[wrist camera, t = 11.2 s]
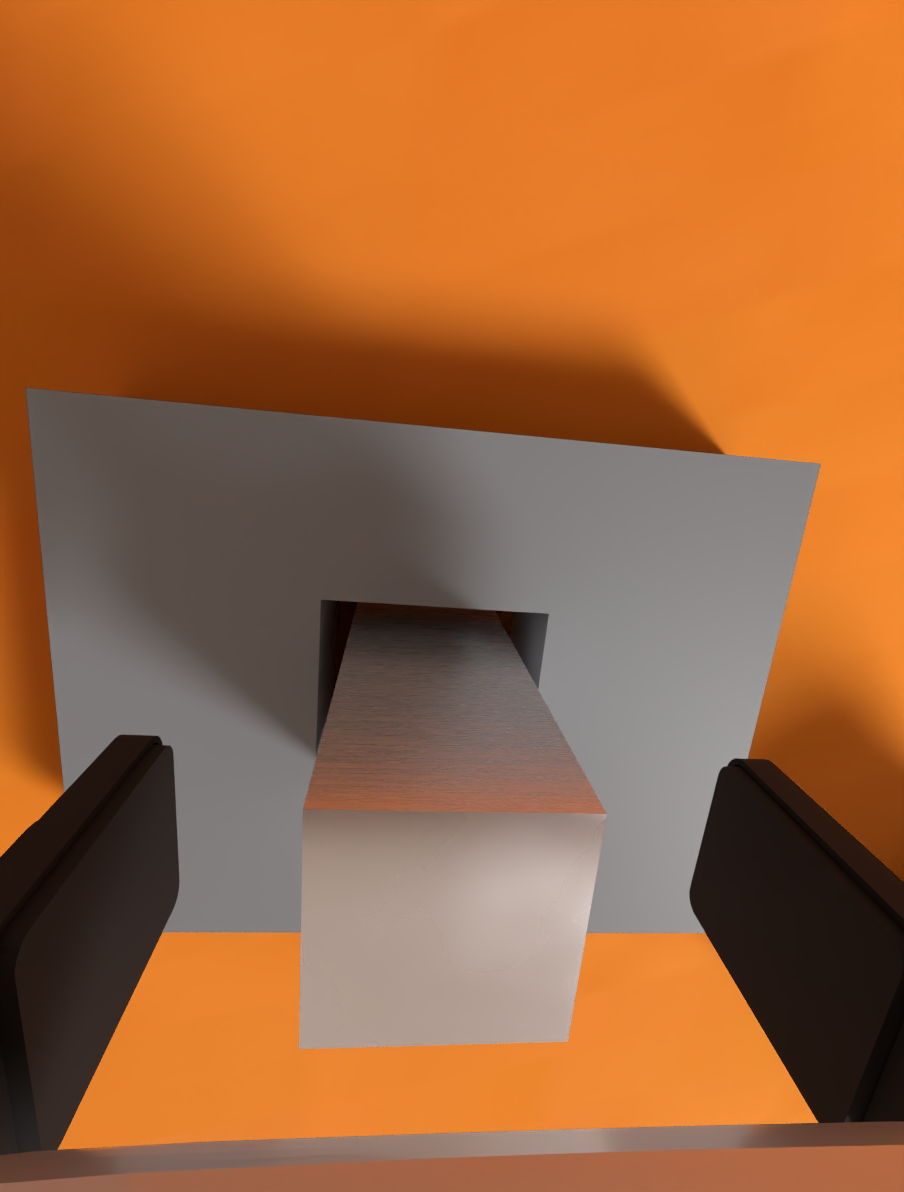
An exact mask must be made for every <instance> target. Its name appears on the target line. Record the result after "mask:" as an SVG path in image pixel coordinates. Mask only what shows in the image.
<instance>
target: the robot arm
mask: <svg viewBox="0 0 904 1192" xmlns="http://www.w3.org/2000/svg"><path fill="white" fill-rule="evenodd" d="M179 882H180V879H179V858H178V838H177V817H176V796H175V776H174V755H173V749H172V747H171V746H170V745H163V744H162V741H161V738H160V737H159V736H150V735H125V734H123V735H119V736H117V737H116V738H115V739H114V740H113V741H112V742H111V743H110V744H109V745H108V746H107V747H106V748H105V750H104V751H103V752H102V753H101V754H100V755H99V756H98V757H97V758H96V759H95V760H94V761H93V762H92V763H91V765H90V766H89V767H88V768H87V769H86V770H85V771H84V772H83V773H82V774H81V775H80V776H79V777H78V778H77V780H76V781H75V782H74V783H73V784H72V785H71V786H70V787H69V788H68V789H67V790H66V791H65V792H64V793H63V795H62V796H61V797H60V798H59V799H58V800H57V801H56V802H55V803H54V804H53V805H52V806H51V807H50V808H49V810H48V811H47V812H46V813H45V814H44V815H43V816H42V817H41V818H40V819H39V820H38V821H36V822H35V823H34V824H32V825H31V826H30V827H29V828H28V829H27V830H26V831H25V832H24V833H23V834H22V835H21V836H20V837H19V838H18V839H17V840H16V841H15V842H14V843H13V845H12V846H11V847H10V848H9V849H8V850H7V851H6V852H5V853H4V854H3V855H2V856H1V857H0V1192H904V882H903V881H901V880H900V879H899V878H898V877H897V876H896V875H895V874H894V873H893V872H892V871H891V870H889V869H888V868H887V867H886V866H885V865H884V864H883V863H882V862H881V861H880V860H878V859H877V858H876V857H875V856H874V855H873V854H872V853H871V852H870V851H869V850H867V849H866V848H865V847H864V846H863V845H862V844H861V843H860V842H859V841H858V840H857V839H855V838H854V837H853V836H852V835H851V834H850V833H849V832H848V831H847V830H846V829H844V828H843V827H842V826H841V825H840V824H839V823H838V822H837V821H836V820H835V819H834V818H832V817H831V816H830V815H829V814H828V813H827V812H826V811H825V810H824V809H823V808H821V807H820V806H819V805H818V804H817V803H816V802H815V801H814V800H813V799H812V798H810V797H809V796H808V795H807V794H806V793H805V792H804V791H803V790H802V789H801V788H800V787H798V786H797V785H796V784H795V783H794V782H793V781H792V780H791V779H790V778H789V777H787V776H786V775H785V774H784V773H783V772H782V771H781V770H780V769H779V768H778V767H777V766H775V765H774V764H773V763H772V762H770V761H769V760H764V759H739V758H735V759H733V760H731V761H730V762H729V763H728V765H727V766H725V767H722V769H721V770H720V772H719V774H718V778H717V782H716V786H715V790H714V794H713V798H712V802H711V806H710V810H709V814H708V818H707V822H706V826H705V830H704V834H703V838H702V842H701V846H700V850H699V854H698V858H697V862H696V866H695V870H694V874H693V878H692V882H691V886H690V891H689V897H690V904H691V907H692V910H693V912H694V914H695V916H696V918H697V919H698V921H699V923H700V924H701V926H702V928H703V929H704V931H705V933H706V934H707V936H708V938H709V939H710V941H711V943H712V945H713V946H714V948H715V950H716V951H717V953H718V955H719V956H720V958H721V960H722V961H723V963H724V965H725V966H726V968H727V970H728V971H729V973H730V975H731V976H732V978H733V980H734V981H735V983H736V985H737V987H738V988H739V990H740V992H741V993H742V995H743V997H744V998H745V1000H746V1002H747V1003H748V1005H749V1007H750V1008H751V1010H752V1012H753V1013H754V1015H755V1017H756V1018H757V1020H758V1022H759V1024H760V1025H761V1027H762V1029H763V1030H764V1032H765V1034H766V1035H767V1037H768V1039H769V1040H770V1042H771V1044H772V1045H773V1047H774V1049H775V1050H776V1052H777V1054H778V1055H779V1057H780V1059H781V1061H782V1062H783V1064H784V1066H785V1067H786V1069H787V1071H788V1072H789V1074H790V1076H791V1077H792V1079H793V1081H794V1082H795V1084H796V1086H797V1087H798V1089H799V1091H800V1092H801V1094H802V1096H803V1097H804V1099H805V1101H806V1103H807V1104H808V1106H809V1108H810V1109H811V1111H812V1113H813V1114H814V1116H815V1118H816V1119H817V1121H818V1122H819V1123H802V1124H758V1125H713V1126H674V1127H638V1128H603V1129H568V1130H535V1131H502V1132H470V1133H437V1134H409V1135H381V1136H353V1137H325V1138H298V1139H270V1140H242V1141H215V1142H192V1143H174V1144H156V1145H138V1146H120V1147H102V1148H84V1149H67V1150H57V1149H58V1147H59V1145H60V1144H61V1142H62V1140H63V1138H64V1136H65V1133H66V1131H67V1129H68V1127H69V1125H70V1123H71V1121H72V1119H73V1117H74V1115H75V1113H76V1111H77V1109H78V1106H79V1104H80V1102H81V1100H82V1098H83V1096H84V1094H85V1092H86V1090H87V1088H88V1086H89V1084H90V1081H91V1079H92V1077H93V1075H94V1073H95V1071H96V1069H97V1067H98V1065H99V1063H100V1061H101V1059H102V1057H103V1054H104V1052H105V1050H106V1048H107V1046H108V1044H109V1042H110V1040H111V1038H112V1036H113V1034H114V1032H115V1030H116V1027H117V1025H118V1023H119V1021H120V1019H121V1017H122V1015H123V1013H124V1011H125V1009H126V1007H127V1005H128V1002H129V1000H130V998H131V996H132V994H133V992H134V990H135V988H136V986H137V984H138V982H139V980H140V978H141V975H142V973H143V971H144V969H145V967H146V965H147V963H148V961H149V959H150V957H151V955H152V953H153V950H154V948H155V946H156V944H157V942H158V940H159V938H160V936H161V934H162V932H163V930H164V928H165V926H166V923H167V921H168V919H169V917H170V915H171V913H172V911H173V909H174V906H175V904H176V901H177V897H178V892H179Z"/></svg>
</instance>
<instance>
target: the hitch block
mask: <svg viewBox="0 0 904 1192" xmlns="http://www.w3.org/2000/svg"><path fill="white" fill-rule="evenodd" d="M26 398H27V409H28V419H29V430H30V440H31V451H32V461H33V471H34V482H35V492H36V503H37V513H38V524H39V534H40V545H41V555H42V566H43V576H44V587H45V597H46V608H47V618H48V629H49V639H50V650H51V660H52V671H53V681H54V692H55V702H56V713H57V723H58V734H59V744H60V754H61V765H62V775H63V786H64V792H65V791H66V790H67V789H68V788H69V787H70V786H71V785H72V784H73V783H74V782H75V781H76V780H77V778H78V777H79V776H80V775H81V774H82V773H83V772H84V771H85V770H86V769H87V768H88V767H89V766H90V765H91V763H92V762H93V761H94V760H95V759H96V758H97V757H98V756H99V755H100V754H101V753H102V752H103V751H104V750H105V748H106V747H107V746H108V745H109V744H110V743H111V742H112V741H113V740H114V739H115V738H116V737H117V736H119V735H123V734H125V735H150V736H159V737H160V738H161V741H162V744H163V745H170V746H171V747H172V749H173V755H174V776H175V796H176V817H177V838H178V858H179V879H180V882H179V892H178V897H177V901H176V904H175V906H174V909H173V911H172V913H171V915H170V917H169V919H168V921H167V923H166V926H165V928H164V930H163V932H301V898H302V830H303V807H304V803H305V799H306V795H307V792H308V788H309V784H310V780H311V776H312V773H313V769H314V765H315V761H316V757H317V754H318V750H319V746H320V742H321V739H322V735H323V731H324V727H325V723H326V720H327V716H328V712H329V708H330V704H331V701H332V697H333V687H334V662H335V637H336V611H337V601H352V602H368V603H384V604H400V605H416V606H432V607H448V608H465V609H481V610H497V611H513V617H512V626H511V634H510V639H511V641H512V643H513V645H514V646H515V648H516V650H517V652H518V654H519V656H520V657H521V659H522V661H523V663H524V665H525V666H526V668H527V670H528V672H529V674H530V675H531V677H532V679H533V681H534V683H535V685H536V686H537V688H538V690H539V692H540V694H541V695H542V697H543V699H544V701H545V703H546V704H547V706H548V708H549V710H550V712H551V714H552V715H553V717H554V719H555V721H556V723H557V724H558V726H559V728H560V730H561V732H562V733H563V735H564V737H565V739H566V741H567V743H568V744H569V746H570V748H571V750H572V752H573V753H574V755H575V757H576V759H577V761H578V762H579V764H580V766H581V768H582V770H583V772H584V773H585V775H586V777H587V779H588V781H589V782H590V784H591V786H592V788H593V790H594V791H595V793H596V795H597V797H598V799H599V801H600V802H601V804H602V806H603V808H604V810H605V811H606V813H607V816H606V822H605V828H604V833H603V839H602V845H601V851H600V857H599V863H598V868H597V874H596V880H595V886H594V892H593V897H592V903H591V909H590V915H589V921H588V926H587V932H586V933H705V931H704V929H703V928H702V926H701V924H700V923H699V921H698V919H697V918H696V916H695V914H694V912H693V910H692V907H691V904H690V897H689V891H690V886H691V882H692V878H693V874H694V870H695V866H696V862H697V858H698V854H699V850H700V846H701V842H702V838H703V834H704V830H705V826H706V822H707V818H708V814H709V810H710V806H711V802H712V798H713V794H714V790H715V786H716V782H717V778H718V774H719V772H720V770H721V769H722V767H725V766H727V765H728V763H729V762H730V761H731V760H733V759H735V758H739V759H748V755H749V751H750V747H751V743H752V739H753V735H754V731H755V727H756V723H757V719H758V715H759V711H760V707H761V703H762V699H763V695H764V691H765V687H766V683H767V679H768V675H769V671H770V667H771V663H772V659H773V655H774V651H775V647H776V643H777V639H778V635H779V631H780V626H781V622H782V618H783V614H784V610H785V606H786V602H787V598H788V594H789V590H790V586H791V582H792V578H793V574H794V570H795V566H796V562H797V558H798V554H799V550H800V546H801V542H802V538H803V534H804V530H805V526H806V522H807V518H808V514H809V510H810V506H811V502H812V498H813V494H814V490H815V486H816V481H817V477H818V473H819V469H820V465H821V464H817V463H807V462H796V461H786V460H776V459H765V458H755V457H744V456H734V455H723V454H713V453H702V452H692V451H682V450H671V449H661V448H650V447H640V446H629V445H619V444H608V443H598V442H588V441H577V440H567V439H556V438H546V437H535V436H525V435H514V434H504V433H494V432H483V431H473V430H462V429H452V428H441V427H431V426H420V425H410V424H400V423H389V422H379V421H368V420H358V419H347V418H337V417H326V416H316V415H306V414H295V413H285V412H274V411H264V410H253V409H243V408H232V407H222V406H212V405H201V404H191V403H180V402H170V401H159V400H149V399H138V398H128V397H118V396H107V395H97V394H86V393H76V392H65V391H55V390H45V389H34V388H26Z"/></svg>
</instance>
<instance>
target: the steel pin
mask: <svg viewBox="0 0 904 1192" xmlns="http://www.w3.org/2000/svg"><path fill="white" fill-rule="evenodd" d="M606 816H607V813H606V811H605V810H604V808H603V806H602V804H601V802H600V801H599V799H598V797H597V795H596V793H595V791H594V790H593V788H592V786H591V784H590V782H589V781H588V779H587V777H586V775H585V773H584V772H583V770H582V768H581V766H580V764H579V762H578V761H577V759H576V757H575V755H574V753H573V752H572V750H571V748H570V746H569V744H568V743H567V741H566V739H565V737H564V735H563V733H562V732H561V730H560V728H559V726H558V724H557V723H556V721H555V719H554V717H553V715H552V714H551V712H550V710H549V708H548V706H547V704H546V703H545V701H544V699H543V697H542V695H541V694H540V692H539V690H538V688H537V686H536V685H535V683H534V681H533V679H532V677H531V675H530V674H529V672H528V670H527V668H526V666H525V665H524V663H523V661H522V659H521V657H520V656H519V654H518V652H517V650H516V648H515V646H514V645H513V643H512V641H511V639H510V637H509V636H508V634H507V632H506V630H505V628H504V627H503V625H502V623H501V621H500V619H499V617H498V616H497V614H496V612H495V610H481V609H465V608H448V607H432V606H416V605H400V604H384V603H368V602H357V606H356V610H355V614H354V617H353V621H352V625H351V629H350V632H349V636H348V640H347V644H346V648H345V651H344V655H343V659H342V663H341V667H340V670H339V674H338V678H337V682H336V685H335V689H334V693H333V697H332V701H331V704H330V708H329V712H328V716H327V720H326V723H325V727H324V731H323V735H322V739H321V742H320V746H319V750H318V754H317V757H316V761H315V765H314V769H313V773H312V776H311V780H310V784H309V788H308V792H307V795H306V799H305V803H304V807H303V830H302V898H301V965H300V1032H299V1049H317V1048H353V1047H389V1046H425V1045H461V1044H497V1043H533V1042H568V1037H569V1031H570V1025H571V1019H572V1014H573V1008H574V1002H575V996H576V990H577V984H578V979H579V973H580V967H581V961H582V955H583V950H584V944H585V938H586V932H587V926H588V921H589V915H590V909H591V903H592V897H593V892H594V886H595V880H596V874H597V868H598V863H599V857H600V851H601V845H602V839H603V833H604V828H605V822H606Z"/></svg>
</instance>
